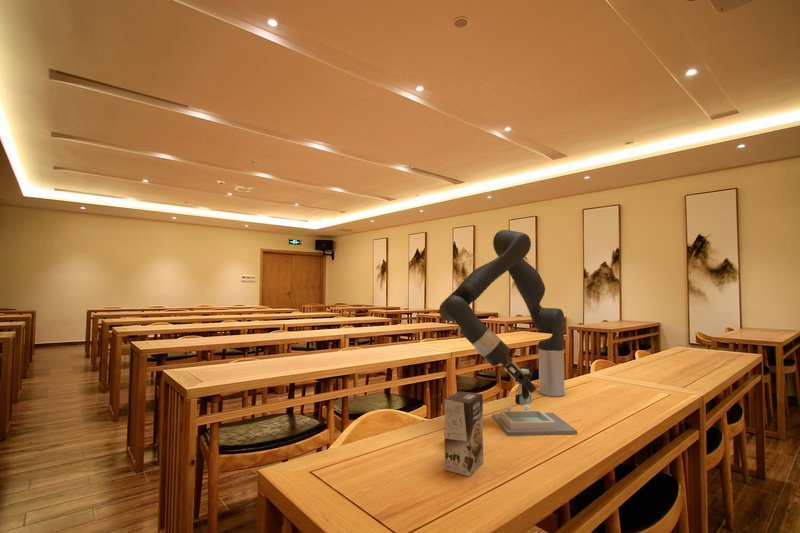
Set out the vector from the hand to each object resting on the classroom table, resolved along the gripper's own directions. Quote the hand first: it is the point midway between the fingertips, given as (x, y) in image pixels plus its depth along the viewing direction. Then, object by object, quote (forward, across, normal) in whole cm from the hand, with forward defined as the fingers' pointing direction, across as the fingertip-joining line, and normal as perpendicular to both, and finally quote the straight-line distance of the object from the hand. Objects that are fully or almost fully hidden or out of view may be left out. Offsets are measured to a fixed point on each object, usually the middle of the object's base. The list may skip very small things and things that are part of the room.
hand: (531, 388), depth 119 cm
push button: (+2, 0, +5) cm, 5 cm away
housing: (+8, +1, +8) cm, 11 cm away
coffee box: (-6, -29, +23) cm, 37 cm away
